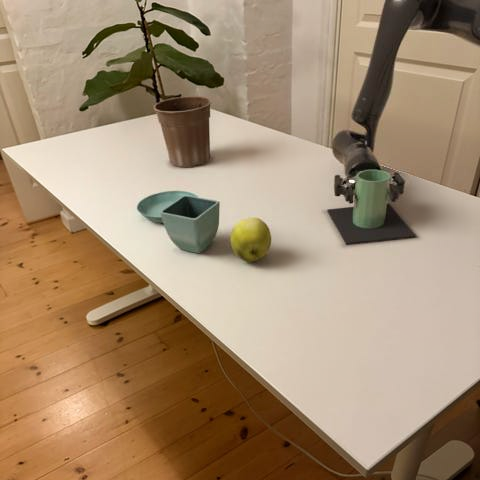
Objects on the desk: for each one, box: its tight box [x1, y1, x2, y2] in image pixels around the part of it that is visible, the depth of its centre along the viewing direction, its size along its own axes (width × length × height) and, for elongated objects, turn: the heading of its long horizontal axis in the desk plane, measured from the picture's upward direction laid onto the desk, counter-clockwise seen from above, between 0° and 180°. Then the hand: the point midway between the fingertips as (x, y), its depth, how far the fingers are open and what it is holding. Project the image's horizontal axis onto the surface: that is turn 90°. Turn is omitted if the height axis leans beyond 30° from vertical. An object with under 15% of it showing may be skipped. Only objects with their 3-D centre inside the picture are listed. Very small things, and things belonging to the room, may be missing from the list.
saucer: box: [136, 190, 199, 224], centre depth 109 cm, size 15×15×3 cm
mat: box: [326, 202, 416, 246], centre depth 98 cm, size 14×16×1 cm
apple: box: [230, 217, 272, 263], centre depth 88 cm, size 8×9×8 cm
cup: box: [352, 169, 392, 228], centre depth 95 cm, size 7×7×10 cm
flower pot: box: [160, 195, 221, 254], centre depth 93 cm, size 9×9×9 cm
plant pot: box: [153, 95, 212, 168], centre depth 134 cm, size 16×16×16 cm
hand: (373, 198), depth 93 cm, fingers open, 8 cm apart
